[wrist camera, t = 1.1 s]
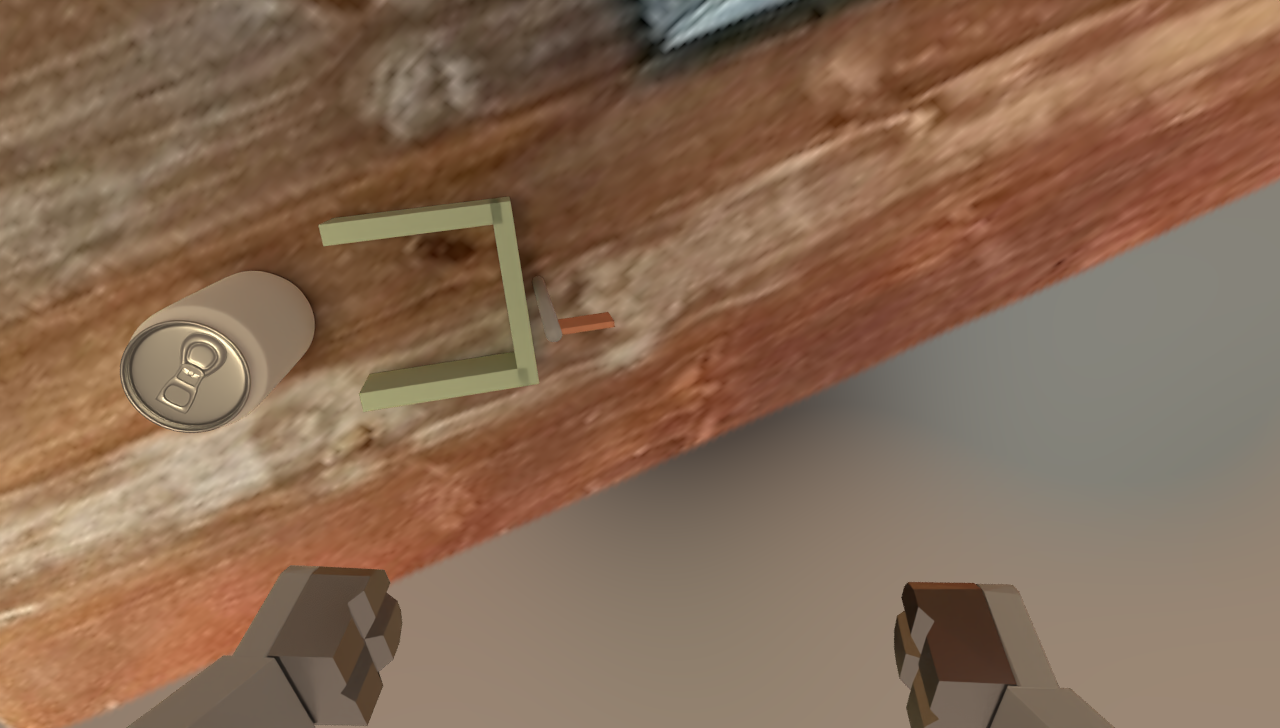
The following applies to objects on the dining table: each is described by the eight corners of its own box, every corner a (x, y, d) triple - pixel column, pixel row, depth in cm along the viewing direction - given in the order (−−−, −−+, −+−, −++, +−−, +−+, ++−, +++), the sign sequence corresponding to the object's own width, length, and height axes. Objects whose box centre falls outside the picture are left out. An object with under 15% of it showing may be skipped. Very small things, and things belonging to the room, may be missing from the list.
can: (336, 305, 47) (285, 357, 35) (285, 387, 47) (219, 464, 36) (237, 248, 45) (149, 284, 33) (185, 335, 45) (83, 399, 34)
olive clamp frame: (373, 391, 49) (328, 483, 35) (333, 218, 45) (265, 249, 32) (593, 356, 51) (627, 431, 38) (571, 188, 47) (600, 206, 34)
